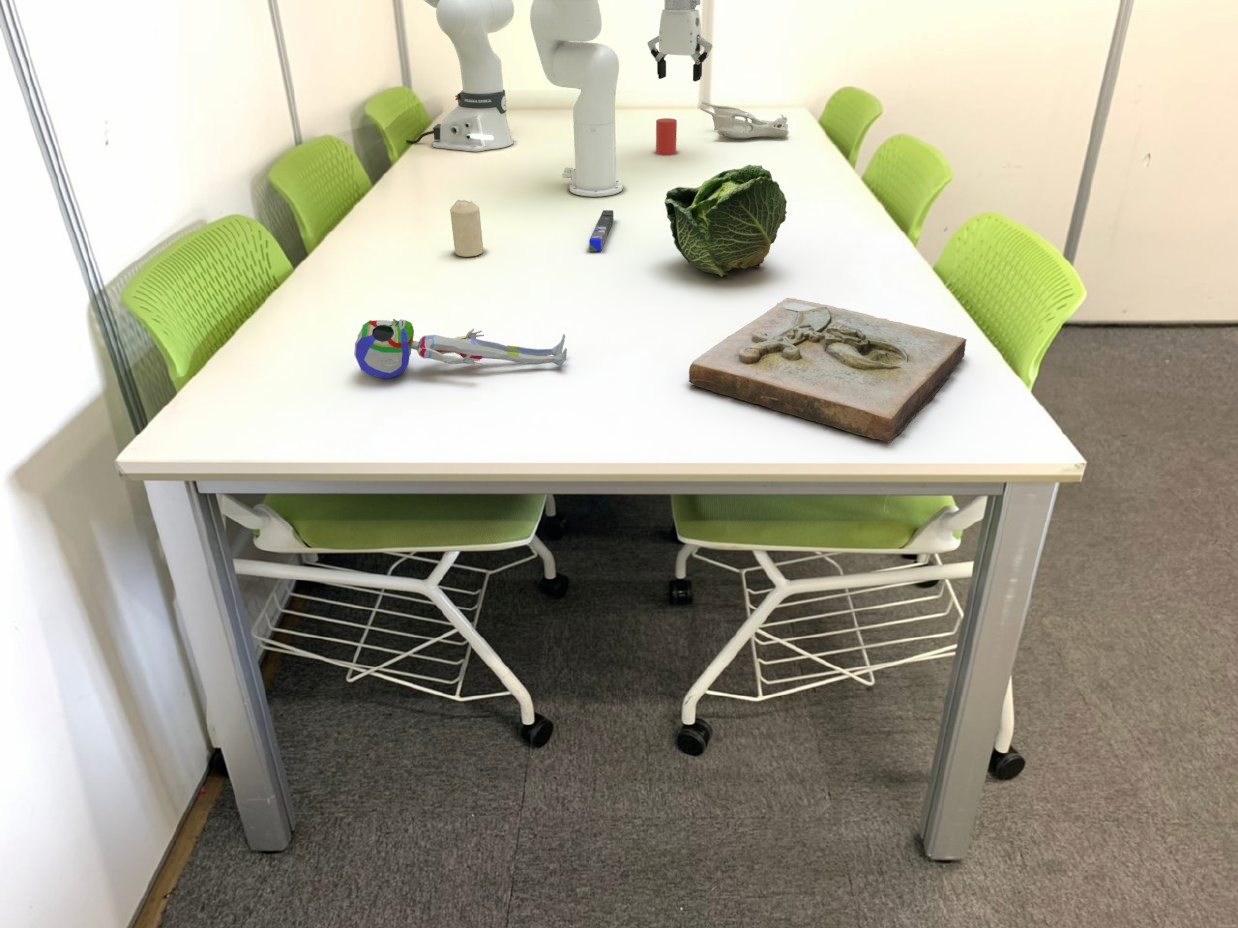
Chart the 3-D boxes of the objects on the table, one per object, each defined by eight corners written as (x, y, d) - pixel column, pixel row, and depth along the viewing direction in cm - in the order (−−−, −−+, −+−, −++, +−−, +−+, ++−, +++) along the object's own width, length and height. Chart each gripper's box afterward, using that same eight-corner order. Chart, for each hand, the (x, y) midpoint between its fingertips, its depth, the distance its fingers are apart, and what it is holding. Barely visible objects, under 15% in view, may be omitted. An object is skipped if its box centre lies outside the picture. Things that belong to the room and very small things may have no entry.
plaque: (899, 396, 108) (687, 337, 122) (890, 447, 111) (686, 383, 126) (977, 316, 128) (788, 274, 143) (967, 361, 132) (784, 315, 147)
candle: (488, 249, 176) (483, 198, 171) (475, 258, 172) (470, 206, 167) (463, 246, 178) (457, 196, 173) (450, 255, 174) (443, 204, 168)
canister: (680, 153, 241) (680, 121, 237) (663, 156, 239) (664, 123, 234) (668, 149, 245) (668, 117, 241) (652, 152, 243) (652, 120, 238)
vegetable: (694, 294, 173) (643, 202, 166) (775, 239, 175) (728, 145, 167) (734, 307, 155) (678, 205, 147) (824, 245, 156) (773, 141, 149)
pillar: (613, 210, 190) (600, 241, 173) (613, 220, 191) (600, 251, 174) (603, 210, 190) (589, 240, 173) (603, 220, 191) (589, 251, 174)
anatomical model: (702, 99, 259) (790, 97, 255) (702, 132, 264) (788, 131, 260) (698, 109, 247) (790, 108, 243) (698, 144, 252) (788, 143, 248)
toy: (569, 347, 126) (349, 329, 122) (563, 400, 131) (350, 385, 126) (565, 318, 135) (359, 301, 130) (559, 369, 139) (360, 354, 134)
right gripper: (718, 3, 217) (716, 78, 226) (654, 1, 224) (655, 74, 233) (706, 7, 211) (704, 84, 221) (641, 4, 218) (642, 80, 228)
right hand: (679, 79), depth 227 cm, fingers open, 9 cm apart
